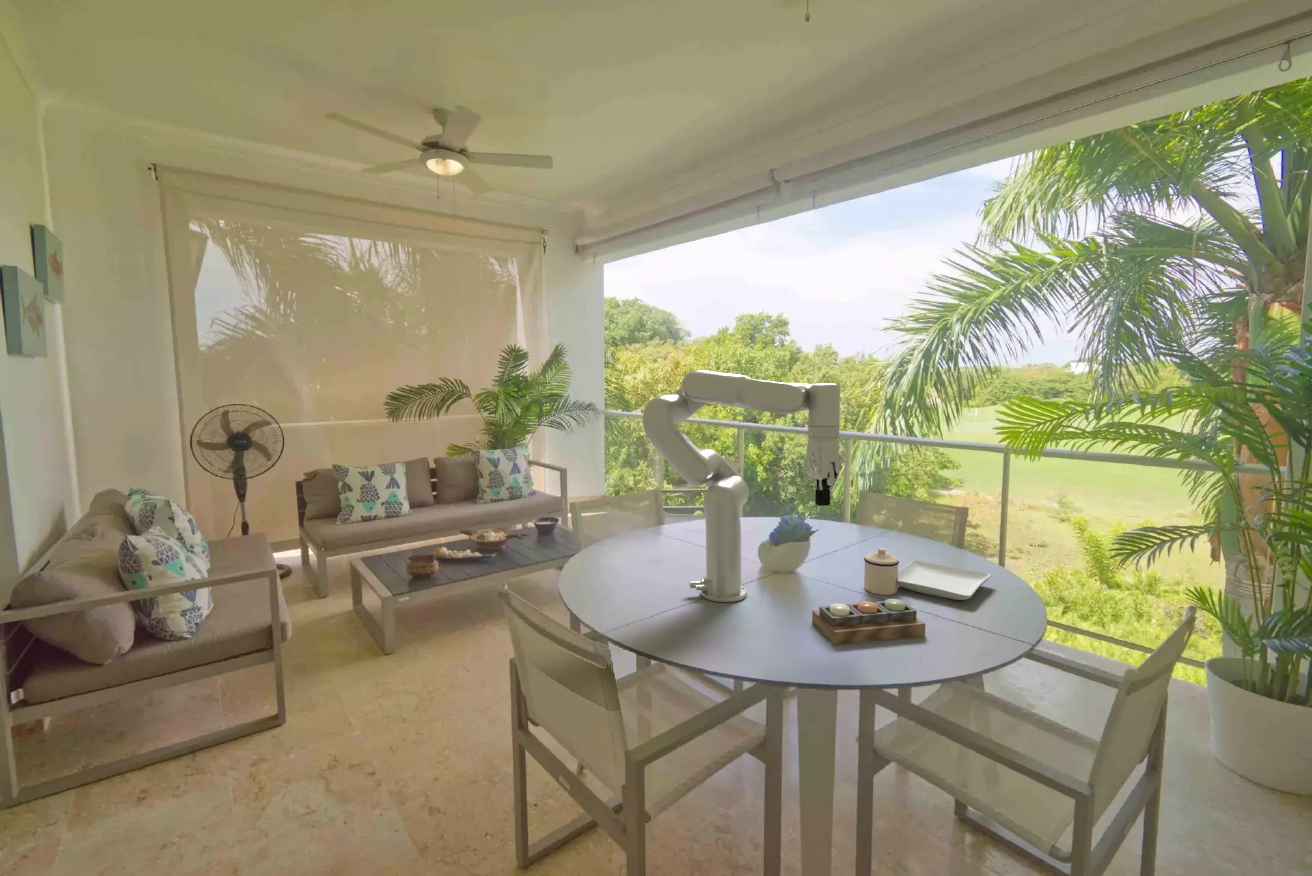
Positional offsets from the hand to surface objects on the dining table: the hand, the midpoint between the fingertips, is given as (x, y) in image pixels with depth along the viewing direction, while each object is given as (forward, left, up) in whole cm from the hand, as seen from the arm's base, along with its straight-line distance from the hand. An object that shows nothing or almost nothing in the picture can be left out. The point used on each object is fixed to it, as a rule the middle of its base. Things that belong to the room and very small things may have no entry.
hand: (822, 504), depth 148 cm
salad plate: (+38, +7, -27) cm, 48 cm away
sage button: (+12, -14, -23) cm, 30 cm away
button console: (+5, -14, -27) cm, 31 cm away
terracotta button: (+5, -14, -23) cm, 28 cm away
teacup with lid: (+22, +10, -27) cm, 36 cm away
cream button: (-2, -14, -24) cm, 27 cm away
